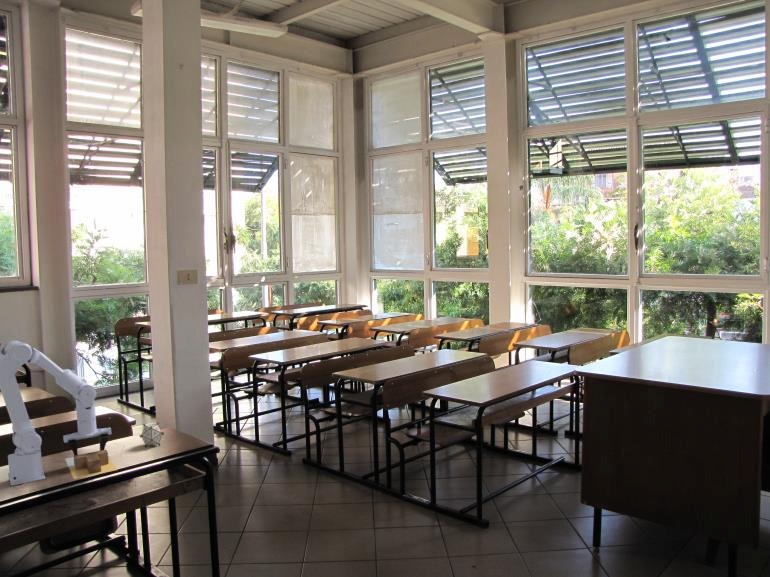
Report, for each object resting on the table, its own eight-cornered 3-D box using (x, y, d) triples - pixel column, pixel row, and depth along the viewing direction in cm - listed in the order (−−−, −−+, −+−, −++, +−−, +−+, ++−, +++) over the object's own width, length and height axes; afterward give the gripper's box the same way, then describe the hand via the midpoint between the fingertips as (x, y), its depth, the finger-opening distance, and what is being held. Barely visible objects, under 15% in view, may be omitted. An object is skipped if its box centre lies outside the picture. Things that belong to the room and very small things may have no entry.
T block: (78, 476, 208) (77, 464, 208) (74, 467, 217) (73, 455, 216) (112, 469, 214) (111, 457, 213) (106, 461, 222) (105, 449, 222)
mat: (73, 479, 206) (73, 478, 206) (64, 459, 226) (64, 458, 226) (117, 470, 213) (117, 469, 213) (105, 451, 233) (105, 450, 233)
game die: (155, 456, 237) (153, 439, 230) (135, 448, 238) (132, 431, 232) (169, 438, 244) (168, 421, 237) (149, 430, 245) (148, 413, 239)
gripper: (64, 426, 212) (67, 466, 213) (111, 417, 220) (114, 457, 221) (61, 421, 218) (64, 461, 219) (107, 413, 226) (110, 452, 227)
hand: (89, 458), depth 221 cm, fingers open, 7 cm apart
